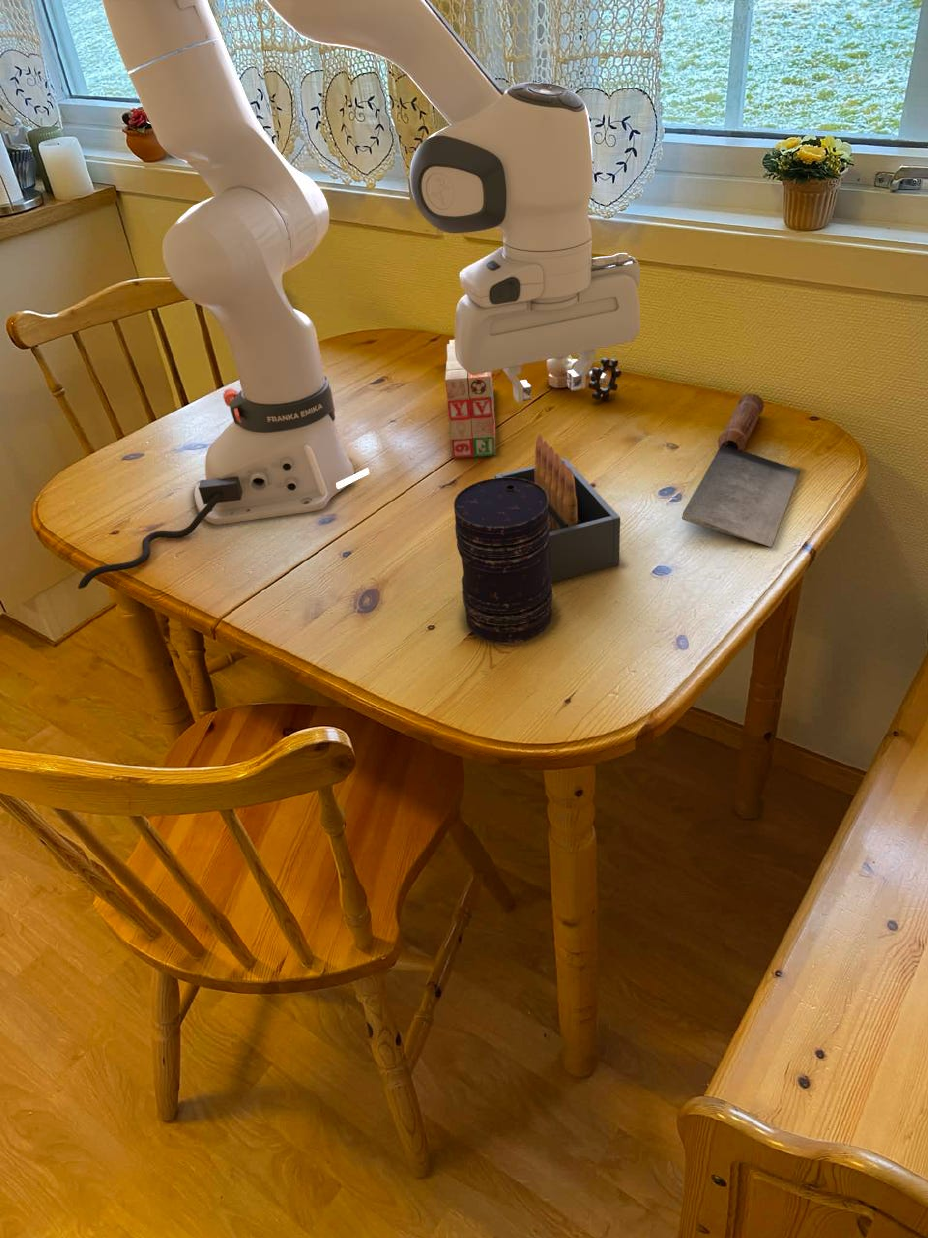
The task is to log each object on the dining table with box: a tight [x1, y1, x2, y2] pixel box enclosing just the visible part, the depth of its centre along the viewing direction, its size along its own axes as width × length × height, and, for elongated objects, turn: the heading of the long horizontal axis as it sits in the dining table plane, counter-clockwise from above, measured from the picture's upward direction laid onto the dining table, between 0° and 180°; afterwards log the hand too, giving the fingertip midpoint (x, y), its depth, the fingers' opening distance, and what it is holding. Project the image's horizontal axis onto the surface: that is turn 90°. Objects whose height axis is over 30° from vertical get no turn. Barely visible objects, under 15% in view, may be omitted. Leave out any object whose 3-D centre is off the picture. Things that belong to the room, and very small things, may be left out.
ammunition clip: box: [533, 434, 580, 532], centre depth 110 cm, size 11×2×12 cm, turn 18°
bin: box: [494, 457, 621, 584], centre depth 112 cm, size 10×16×7 cm, turn 18°
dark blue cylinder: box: [453, 477, 553, 645], centre depth 99 cm, size 10×10×15 cm
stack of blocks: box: [444, 339, 496, 459], centre depth 137 cm, size 21×6×12 cm, turn 0°
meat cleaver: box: [681, 393, 801, 548], centre depth 122 cm, size 34×11×4 cm, turn 155°
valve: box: [546, 355, 622, 401], centre depth 145 cm, size 7×7×12 cm
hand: (549, 393), depth 103 cm, fingers open, 5 cm apart
